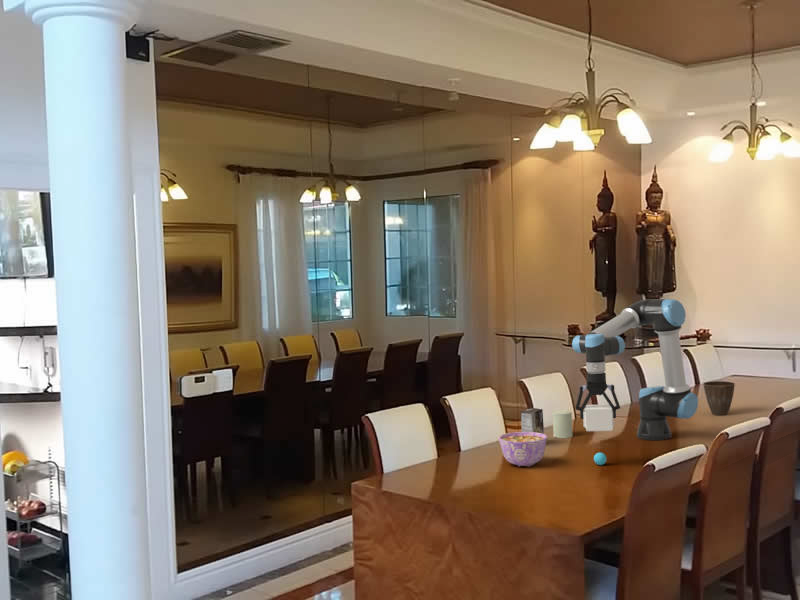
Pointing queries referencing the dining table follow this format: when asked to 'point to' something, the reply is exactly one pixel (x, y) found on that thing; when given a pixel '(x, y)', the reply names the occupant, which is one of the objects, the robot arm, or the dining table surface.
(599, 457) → the ball
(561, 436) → the can
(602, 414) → the white rounded cube
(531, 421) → the coffee box
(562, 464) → the dining table surface
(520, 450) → the bowl of food
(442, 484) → the dining table surface
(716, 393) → the plant pot
